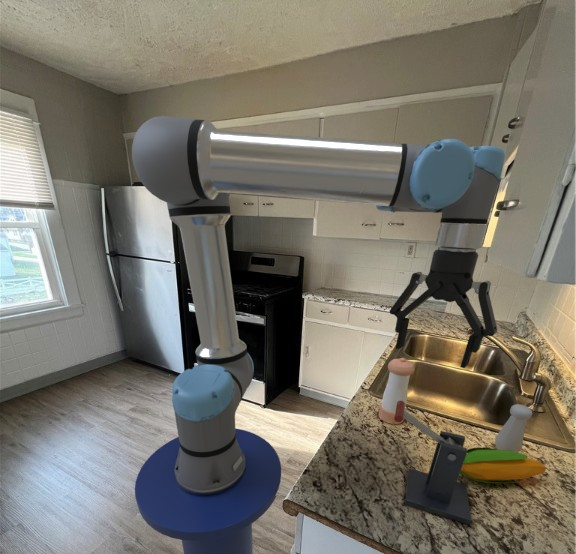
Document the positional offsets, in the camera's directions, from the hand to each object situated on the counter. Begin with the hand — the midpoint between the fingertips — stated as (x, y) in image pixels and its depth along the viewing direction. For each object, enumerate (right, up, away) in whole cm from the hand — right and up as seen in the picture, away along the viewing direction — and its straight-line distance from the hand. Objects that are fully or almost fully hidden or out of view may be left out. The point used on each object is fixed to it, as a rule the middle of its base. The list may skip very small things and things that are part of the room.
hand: (430, 356), depth 67 cm
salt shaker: (+26, -24, +15) cm, 38 cm away
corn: (+18, -28, +6) cm, 34 cm away
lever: (-4, -16, -4) cm, 17 cm away
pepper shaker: (+1, -17, +27) cm, 32 cm away
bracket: (+1, -30, 0) cm, 30 cm away
